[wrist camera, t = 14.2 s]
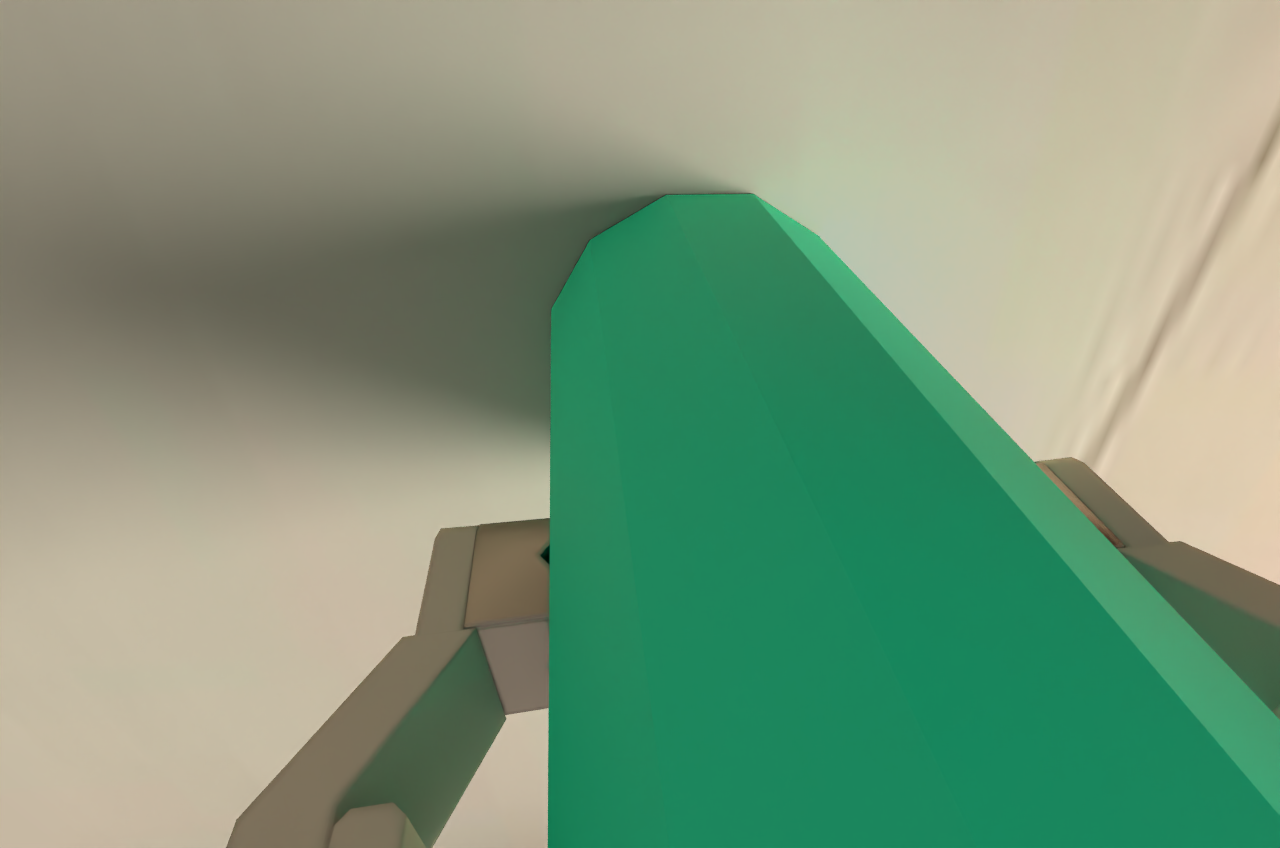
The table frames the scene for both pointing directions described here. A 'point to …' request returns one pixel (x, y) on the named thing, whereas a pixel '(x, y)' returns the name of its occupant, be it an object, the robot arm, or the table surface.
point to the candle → (843, 584)
